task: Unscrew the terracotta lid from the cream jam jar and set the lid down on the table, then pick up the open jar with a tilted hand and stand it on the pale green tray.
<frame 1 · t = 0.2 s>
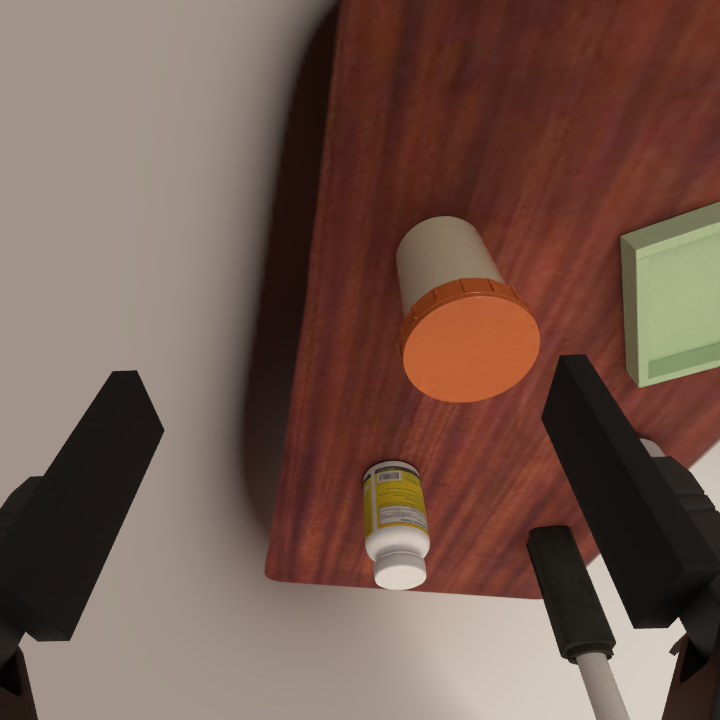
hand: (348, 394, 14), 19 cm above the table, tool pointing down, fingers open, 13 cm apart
lid: (469, 350, 24), point 11 cm above the table, screwed on, not yet turned
candle: (547, 535, 57), on the table
jar: (439, 258, 32), on the table
tray: (718, 281, 34), on the table
pill bottle: (391, 474, 49), on the table
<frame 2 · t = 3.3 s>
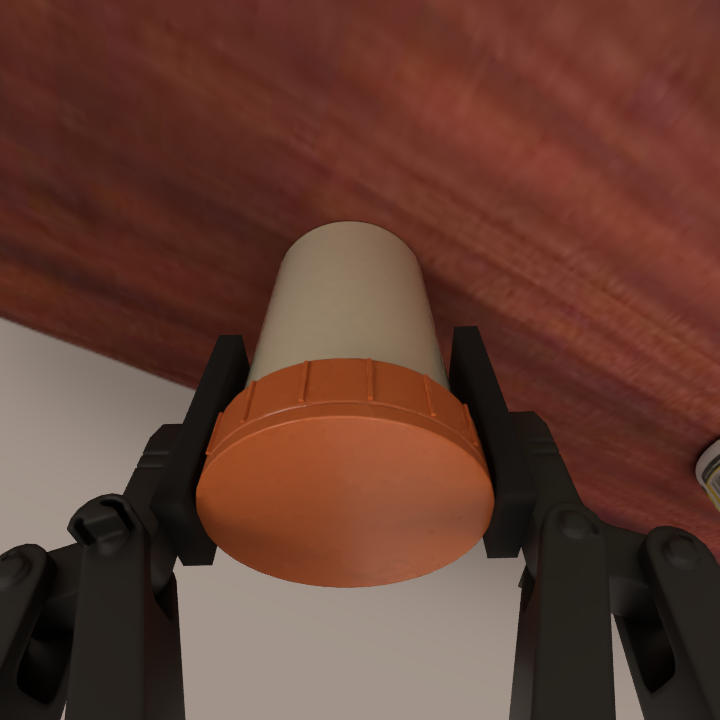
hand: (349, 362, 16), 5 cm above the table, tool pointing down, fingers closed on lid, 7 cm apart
lid: (346, 505, 11), point 11 cm above the table, screwed on, not yet turned, touching gripper
jar: (350, 291, 20), on the table
when the fingers open (4 cm above the table, at t = 10.9 s): lid moves 1 cm, point 11 cm above the table.
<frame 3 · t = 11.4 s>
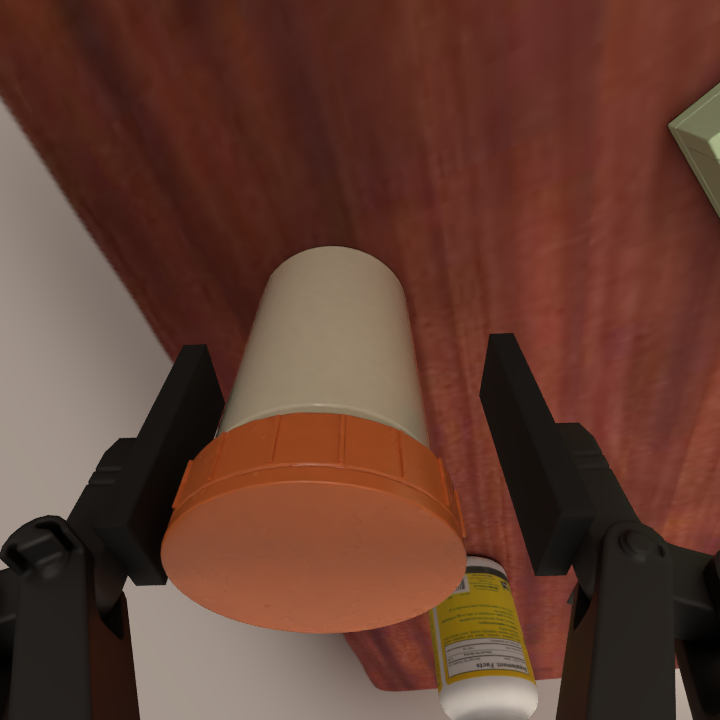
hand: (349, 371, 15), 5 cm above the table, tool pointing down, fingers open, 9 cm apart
lid: (316, 557, 11), point 11 cm above the table, turned 291° so far, risen 0.4 cm, still on its thread
jar: (334, 313, 20), on the table
pill bottle: (464, 570, 35), on the table
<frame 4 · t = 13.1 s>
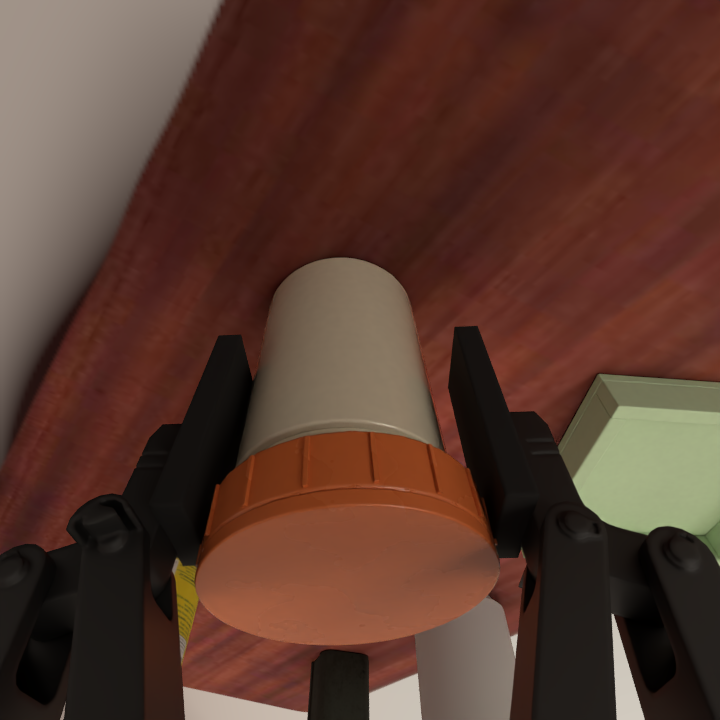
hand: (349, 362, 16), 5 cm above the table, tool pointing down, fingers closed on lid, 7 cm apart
lid: (349, 573, 11), point 11 cm above the table, off its thread, touching gripper
candle: (339, 658, 46), on the table
jar: (341, 322, 20), on the table, touching gripper
tray: (660, 468, 27), on the table
can: (455, 601, 38), on the table
pill bottle: (167, 552, 33), on the table
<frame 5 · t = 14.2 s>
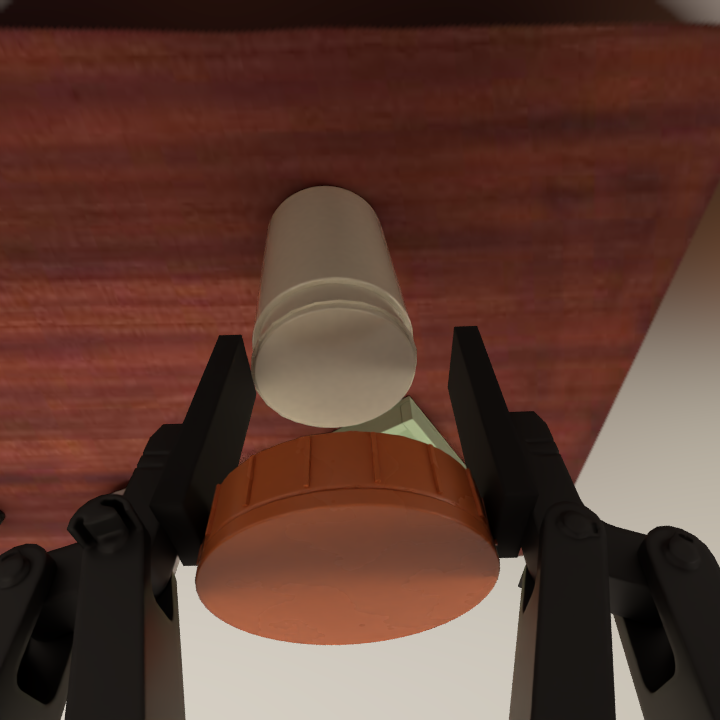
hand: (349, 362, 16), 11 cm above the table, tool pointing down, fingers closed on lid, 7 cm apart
lid: (349, 573, 11), point 18 cm above the table, off its thread, touching gripper
jar: (325, 244, 25), on the table, tilted 6°, touching gripper
tray: (378, 477, 38), on the table
when the fingers open (4 cm above the table, at t = 38.2 s): lid stays where it is, point 1 cm above the table.
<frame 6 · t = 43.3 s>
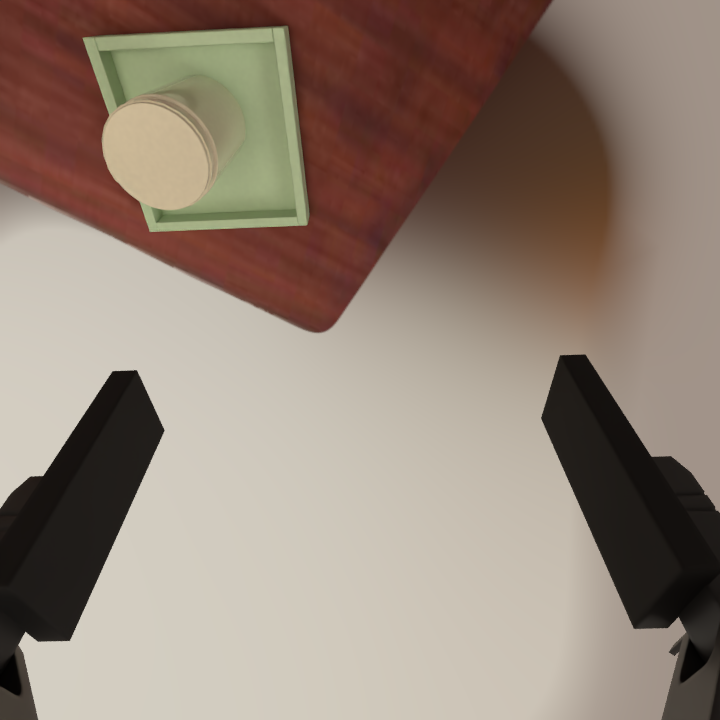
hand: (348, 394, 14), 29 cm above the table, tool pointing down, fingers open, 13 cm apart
jar: (204, 122, 35), resting on tray
tray: (215, 135, 36), on the table
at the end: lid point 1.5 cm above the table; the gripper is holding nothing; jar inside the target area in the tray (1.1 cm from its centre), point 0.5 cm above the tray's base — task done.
